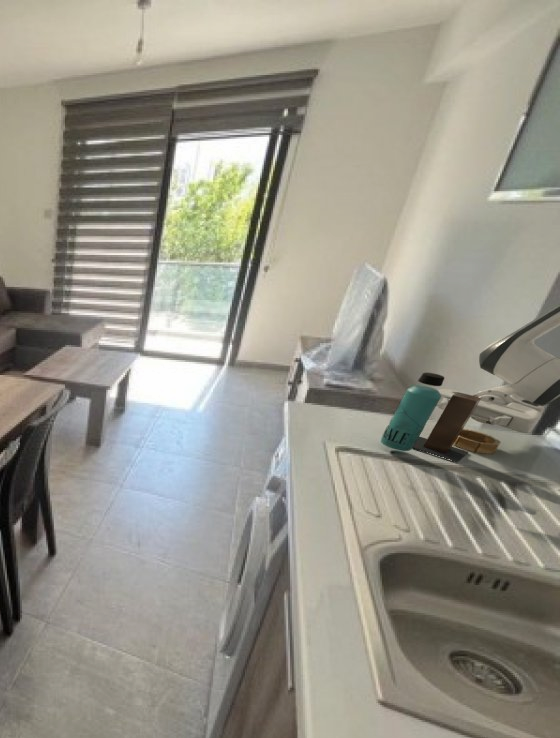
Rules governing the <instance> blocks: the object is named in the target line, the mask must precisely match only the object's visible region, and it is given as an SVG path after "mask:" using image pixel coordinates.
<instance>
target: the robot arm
mask: <svg viewBox="0 0 560 738" xmlns="http://www.w3.org/2000/svg"><path fill="white" fill-rule="evenodd" d="M559 326H560V303H558V305H555V306H554V307H552V308H551V309H549V310H548V311H545V312H544V313H543V314H540V316H538V317H536V318H534V319H533V320H531V321H530V322H528V323H526V324H525V325H523V326H521V327H519V328H518V329H516V330H515V331H513V332H512V333H510V334H508V335H506V336H504V337H502V338H500V339H498V340H495V341H494V342H492V343H491V344H489V345H488V346H487V347H485V348H484V349H483V350H482V351H481V352H480V353H479V355H478V356H479V357H478V364H479V368H480V369H482V370H483V371H484V372H487V373H489V374H491V375H493V376H496V377H497V378H499V379H500V380H502V381H504V382H505V383H507V384H505V385H500V386H496V387H493V388H492V387H491V388H488V389H485V390H480V391H478V392H475V393H474V394H473V395H472V394H470V393H466V392H463V391H459V390H455V389H449V388H441V389H437V390H438V391H439V393H440V394H441V399H440V400H439V402H438V403H437V405H436V407H438V409H440V410H443V411H444V409H445V408H446V406H447V404H448V402H449V401H450V399H451V397H452V395H454V394H455V393H457V392H460V393H464V394H468V395H472V396H476V397H480V398H481V400H480V402H479V403H478V405H477V407H476V408H475V410H474V411H473V413H472V415H471V416H470V418H471V419H472V420H474V421H476V422H478V423H481V424H487V425H491V426H498V427H499V426H500V427H502V428H506V429H509V430H512V431H516V432H517V433H522V434H528V433H531V432H532V431H533V429H534V428H535V426H536V425H537V424H538V422H539V421H540V420H541V417H542V415H543V413H544V411H545V406H548V405H549V404H551V403H553V402H555V401H556V400H558V399H560V358H559V357H556V356H554V355H552V354H551V353H549V352H547V351H546V350H544V349H542V348H540V347H539V346H537V345H536V344H535V341H536V340H537V339H539V338H540V337H543V336H544V335H546V334H547V333H549V332H551V331H552V330H555V329H556V328H558V327H559Z"/></svg>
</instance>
